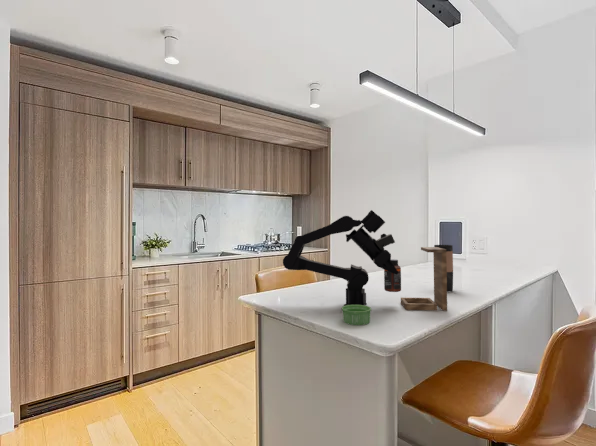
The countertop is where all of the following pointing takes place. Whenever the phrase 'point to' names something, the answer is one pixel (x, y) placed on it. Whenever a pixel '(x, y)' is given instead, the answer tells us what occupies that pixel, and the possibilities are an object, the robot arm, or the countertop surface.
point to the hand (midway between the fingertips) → (396, 272)
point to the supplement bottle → (392, 279)
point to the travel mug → (448, 265)
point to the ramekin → (356, 314)
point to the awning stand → (439, 285)
